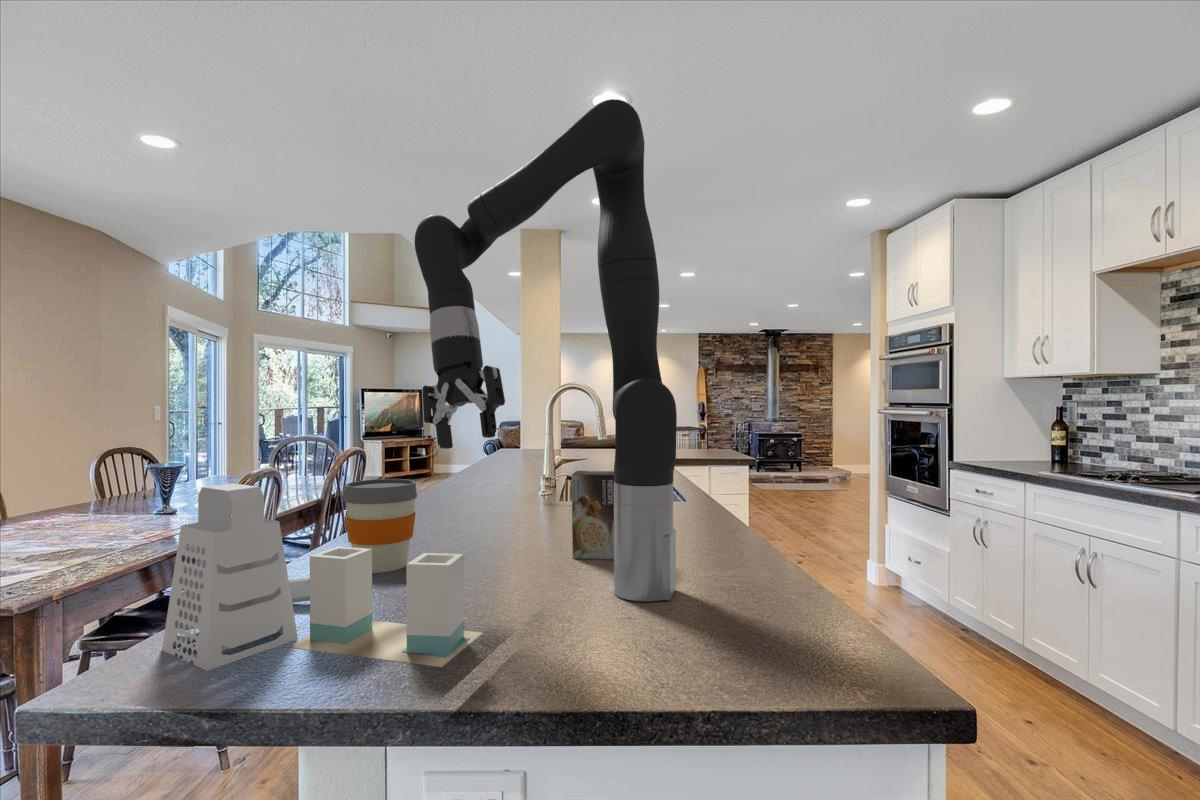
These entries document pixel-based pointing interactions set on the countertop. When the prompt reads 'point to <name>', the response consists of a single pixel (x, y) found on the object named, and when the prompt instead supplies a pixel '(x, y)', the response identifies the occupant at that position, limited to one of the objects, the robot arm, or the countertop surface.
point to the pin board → (385, 645)
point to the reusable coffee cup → (381, 519)
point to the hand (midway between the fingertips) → (467, 443)
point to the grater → (229, 579)
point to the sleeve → (435, 603)
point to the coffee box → (593, 514)
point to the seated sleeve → (340, 594)
